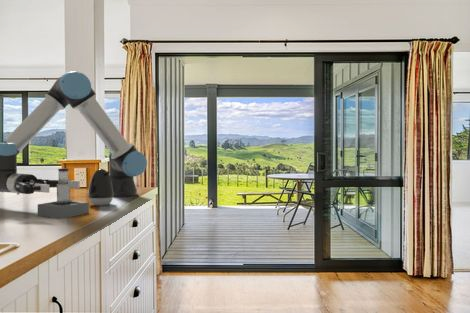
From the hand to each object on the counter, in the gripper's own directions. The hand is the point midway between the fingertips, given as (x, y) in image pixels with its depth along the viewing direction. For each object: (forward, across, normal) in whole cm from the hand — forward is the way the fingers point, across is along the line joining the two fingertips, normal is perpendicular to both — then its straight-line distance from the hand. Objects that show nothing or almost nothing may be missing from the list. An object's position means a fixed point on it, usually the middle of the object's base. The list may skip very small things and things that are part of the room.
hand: (64, 186), depth 136 cm
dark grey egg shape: (-3, -22, -10) cm, 25 cm away
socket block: (0, 0, -10) cm, 10 cm away
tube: (-1, 0, -10) cm, 10 cm away
